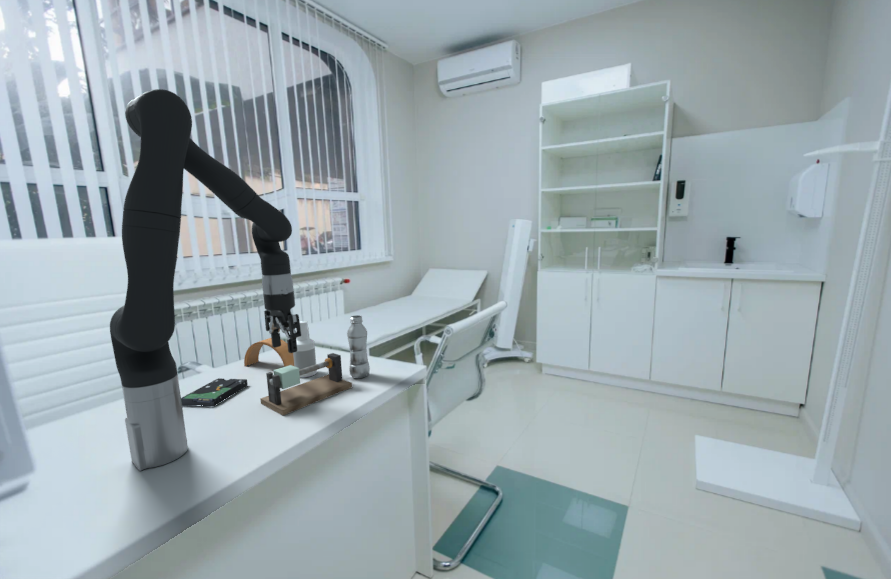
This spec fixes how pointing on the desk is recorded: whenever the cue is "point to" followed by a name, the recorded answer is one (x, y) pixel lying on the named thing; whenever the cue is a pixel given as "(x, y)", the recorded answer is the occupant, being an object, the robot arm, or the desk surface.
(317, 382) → the rod stand
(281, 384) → the sleeve
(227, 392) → the disk drive
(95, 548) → the desk surface
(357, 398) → the desk surface
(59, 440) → the desk surface
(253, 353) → the arch
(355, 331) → the plastic bottle
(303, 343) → the spray bottle
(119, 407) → the desk surface
